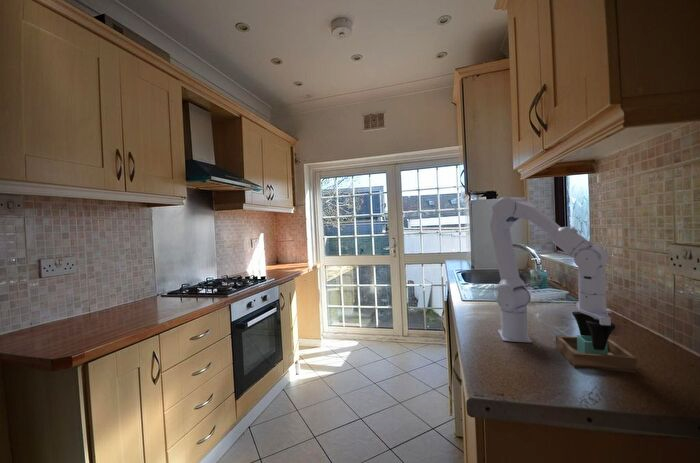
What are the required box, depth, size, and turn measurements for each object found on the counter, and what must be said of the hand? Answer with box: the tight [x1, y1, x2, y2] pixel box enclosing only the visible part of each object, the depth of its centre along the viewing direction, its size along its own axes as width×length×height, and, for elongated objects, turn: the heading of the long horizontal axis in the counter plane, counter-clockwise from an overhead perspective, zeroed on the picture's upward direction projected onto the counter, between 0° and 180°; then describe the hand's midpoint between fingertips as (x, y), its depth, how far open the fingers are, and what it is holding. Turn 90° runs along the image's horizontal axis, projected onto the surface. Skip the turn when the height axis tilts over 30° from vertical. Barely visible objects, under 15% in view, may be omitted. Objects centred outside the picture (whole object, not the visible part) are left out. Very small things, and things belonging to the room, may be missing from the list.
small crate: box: [576, 334, 608, 355], centre depth 85 cm, size 5×5×4 cm
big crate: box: [555, 335, 638, 374], centre depth 85 cm, size 13×13×4 cm
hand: (592, 344), depth 85 cm, fingers open, 7 cm apart
